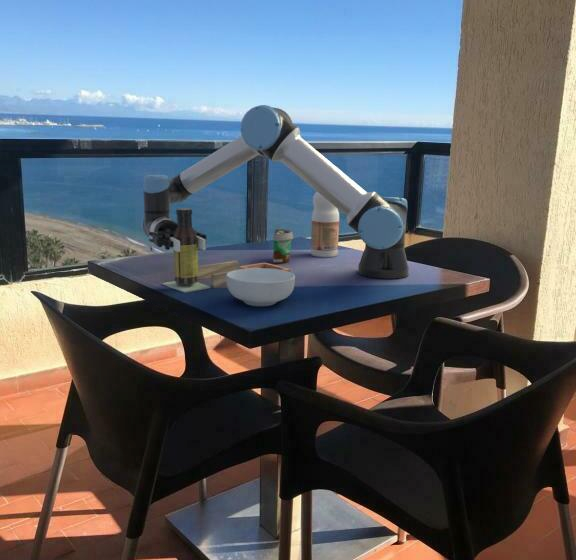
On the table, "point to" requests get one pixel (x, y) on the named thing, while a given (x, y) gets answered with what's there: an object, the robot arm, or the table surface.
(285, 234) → the food container
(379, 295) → the table surface
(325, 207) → the fruit juice
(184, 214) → the sauce bottle
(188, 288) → the pad
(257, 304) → the cereal bowl
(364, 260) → the robot arm
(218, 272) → the trough
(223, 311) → the table surface
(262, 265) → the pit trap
